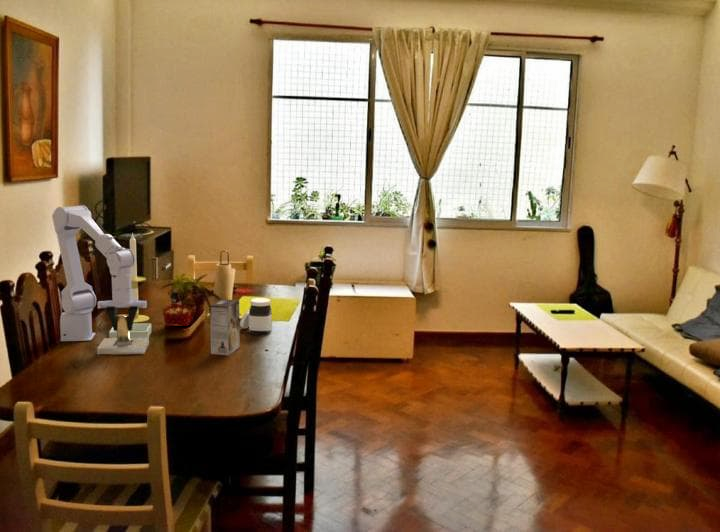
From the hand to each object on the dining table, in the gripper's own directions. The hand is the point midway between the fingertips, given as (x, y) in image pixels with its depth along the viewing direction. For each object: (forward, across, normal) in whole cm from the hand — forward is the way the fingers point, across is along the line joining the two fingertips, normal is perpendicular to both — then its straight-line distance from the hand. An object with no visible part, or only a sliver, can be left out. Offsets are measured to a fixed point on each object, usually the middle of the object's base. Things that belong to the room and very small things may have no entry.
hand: (123, 329), depth 213 cm
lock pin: (+3, 0, 0) cm, 3 cm away
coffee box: (+6, +32, -4) cm, 33 cm away
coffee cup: (+7, +16, +27) cm, 32 cm away
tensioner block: (+6, 0, 0) cm, 6 cm away
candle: (+7, -2, +36) cm, 37 cm away
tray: (+6, 0, +14) cm, 15 cm away
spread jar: (+6, +42, +18) cm, 46 cm away
